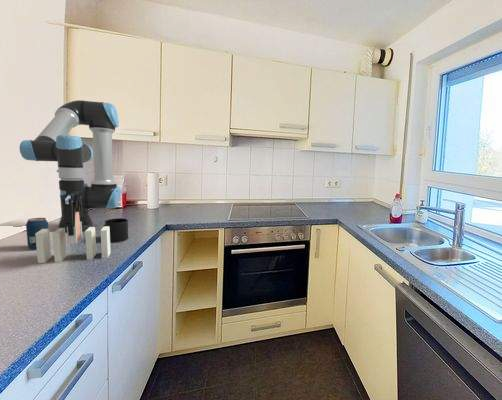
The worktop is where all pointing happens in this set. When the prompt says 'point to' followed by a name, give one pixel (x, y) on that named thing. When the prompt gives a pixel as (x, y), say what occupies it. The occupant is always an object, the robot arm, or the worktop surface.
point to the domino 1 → (43, 245)
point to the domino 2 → (59, 244)
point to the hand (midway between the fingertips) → (75, 240)
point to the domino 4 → (90, 243)
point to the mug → (117, 229)
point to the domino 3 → (77, 226)
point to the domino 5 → (105, 241)
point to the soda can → (35, 230)
